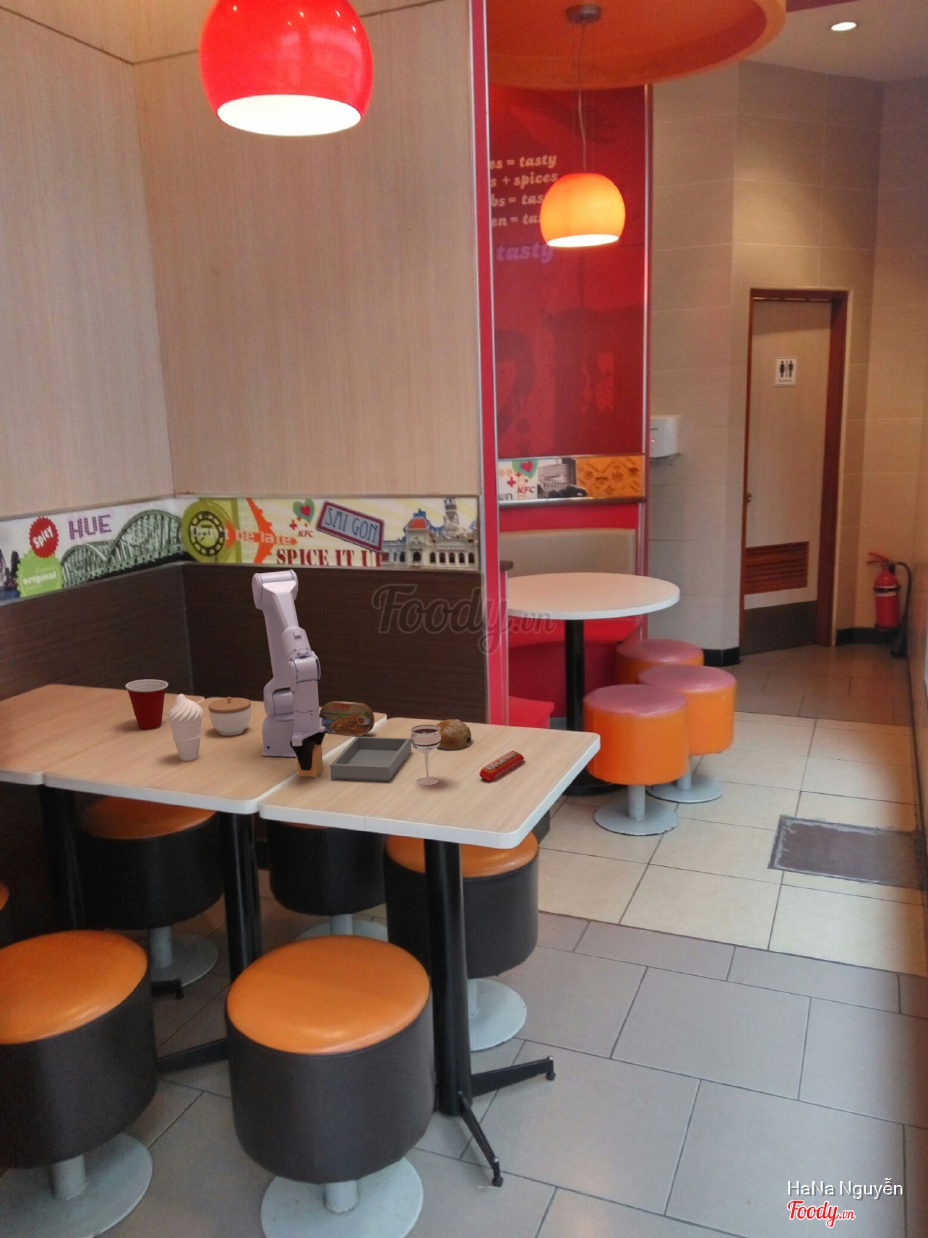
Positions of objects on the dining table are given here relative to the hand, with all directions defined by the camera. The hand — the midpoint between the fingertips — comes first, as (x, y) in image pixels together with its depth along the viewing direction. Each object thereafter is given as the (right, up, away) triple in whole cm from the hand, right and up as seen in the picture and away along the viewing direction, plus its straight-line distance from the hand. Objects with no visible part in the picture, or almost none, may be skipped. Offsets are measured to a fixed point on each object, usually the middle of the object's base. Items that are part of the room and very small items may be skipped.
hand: (310, 765), depth 223 cm
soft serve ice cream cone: (-31, 0, +13) cm, 34 cm away
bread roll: (+32, +3, +17) cm, 36 cm away
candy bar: (+44, -1, -2) cm, 44 cm away
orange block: (0, -2, 0) cm, 2 cm away
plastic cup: (-48, +5, +38) cm, 62 cm away
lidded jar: (-25, +4, +31) cm, 40 cm away
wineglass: (+27, -2, -7) cm, 28 cm away
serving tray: (+14, 0, +4) cm, 14 cm away
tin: (+5, +4, +27) cm, 28 cm away
